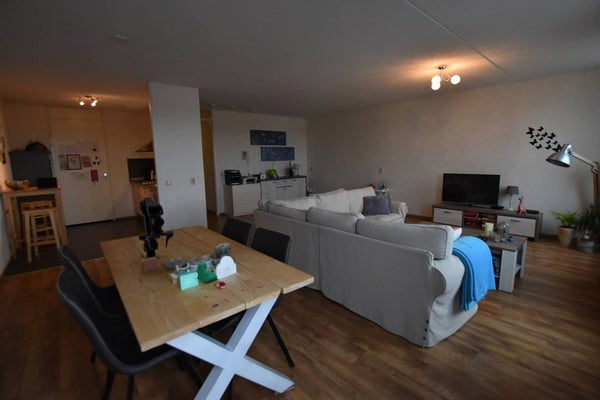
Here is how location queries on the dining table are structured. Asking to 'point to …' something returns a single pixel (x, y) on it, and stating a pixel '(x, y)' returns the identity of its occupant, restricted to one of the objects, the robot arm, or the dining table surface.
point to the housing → (149, 264)
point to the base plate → (173, 263)
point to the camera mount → (205, 273)
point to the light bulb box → (223, 249)
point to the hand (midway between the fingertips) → (158, 248)
